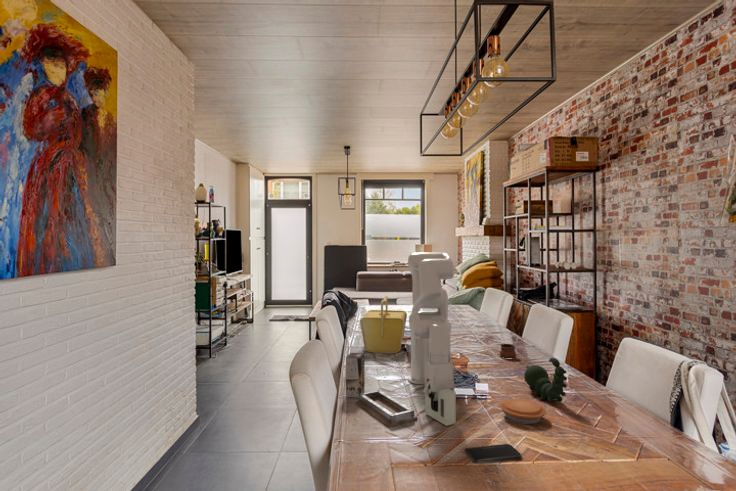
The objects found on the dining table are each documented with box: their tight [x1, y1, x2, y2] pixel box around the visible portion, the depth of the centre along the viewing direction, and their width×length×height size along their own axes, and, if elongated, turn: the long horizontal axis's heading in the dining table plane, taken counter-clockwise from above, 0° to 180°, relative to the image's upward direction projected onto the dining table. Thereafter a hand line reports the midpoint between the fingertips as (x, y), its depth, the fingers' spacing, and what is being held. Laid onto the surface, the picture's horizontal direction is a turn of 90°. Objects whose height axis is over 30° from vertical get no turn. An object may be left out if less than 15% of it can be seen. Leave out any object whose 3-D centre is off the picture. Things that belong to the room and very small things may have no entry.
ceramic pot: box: [499, 343, 517, 359], centre depth 230 cm, size 18×18×7 cm
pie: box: [499, 398, 547, 425], centre depth 150 cm, size 15×16×5 cm
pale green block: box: [424, 388, 456, 427], centre depth 149 cm, size 4×12×11 cm, turn 29°
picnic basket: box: [359, 295, 408, 354], centre depth 252 cm, size 29×26×30 cm
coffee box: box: [345, 352, 366, 399], centre depth 175 cm, size 9×6×16 cm
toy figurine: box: [523, 357, 568, 403], centre depth 171 cm, size 9×19×25 cm
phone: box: [464, 443, 523, 464], centre depth 124 cm, size 8×1×15 cm
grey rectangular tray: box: [355, 389, 418, 428], centre depth 156 cm, size 12×24×4 cm, turn 29°
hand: (439, 408), depth 149 cm, fingers closed on pale green block, 4 cm apart
